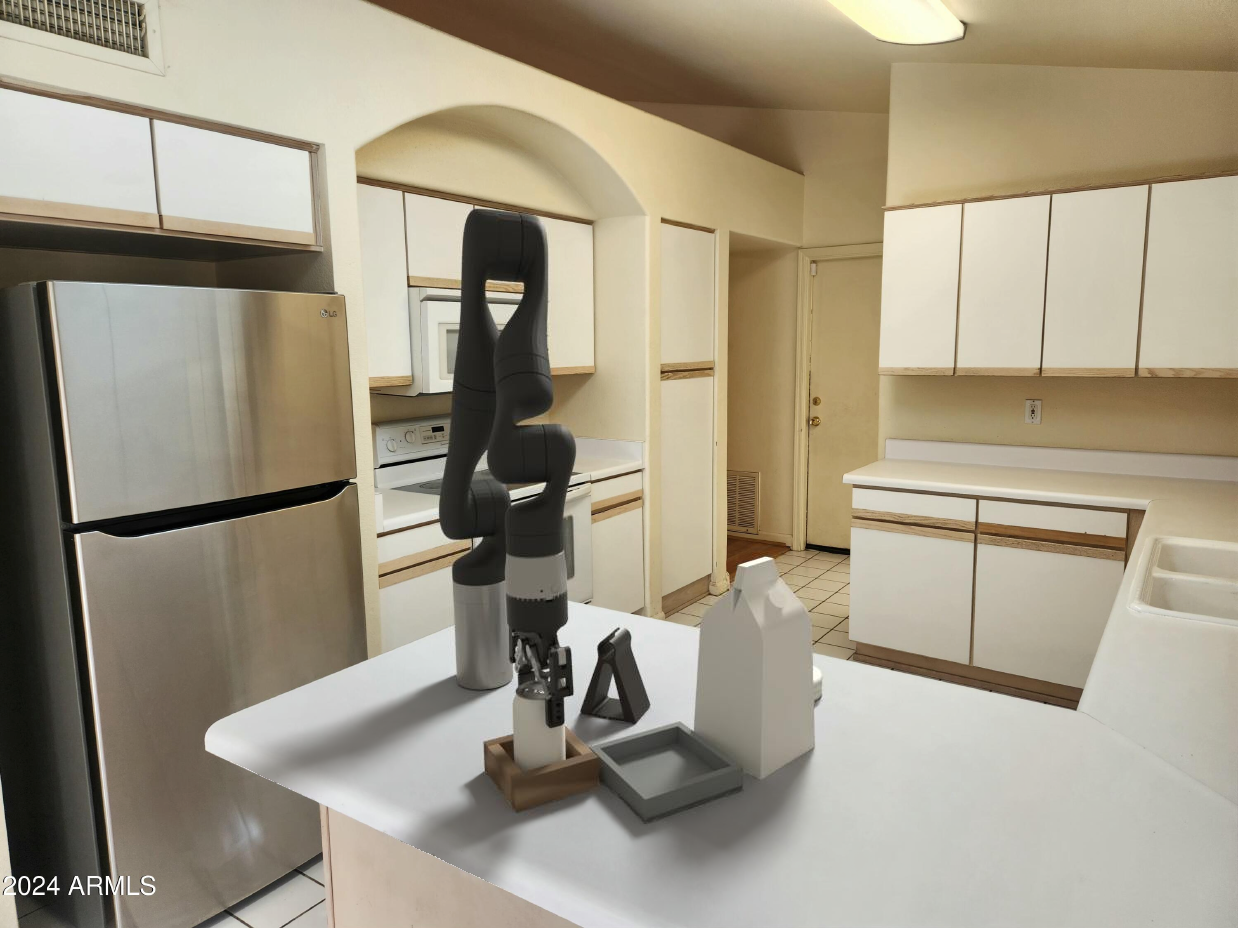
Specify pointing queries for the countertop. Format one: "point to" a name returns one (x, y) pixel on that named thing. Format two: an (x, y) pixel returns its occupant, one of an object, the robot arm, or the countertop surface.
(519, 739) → the can
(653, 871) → the countertop surface
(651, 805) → the tray
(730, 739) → the milk
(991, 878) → the countertop surface
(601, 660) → the phone stand
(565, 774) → the socket block
